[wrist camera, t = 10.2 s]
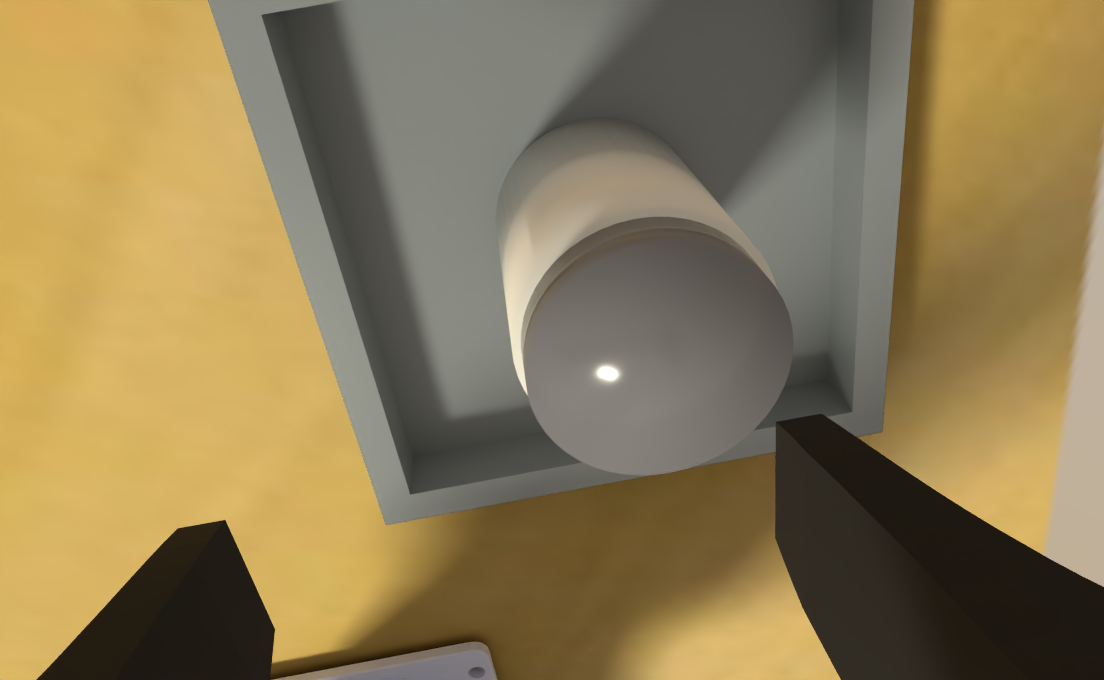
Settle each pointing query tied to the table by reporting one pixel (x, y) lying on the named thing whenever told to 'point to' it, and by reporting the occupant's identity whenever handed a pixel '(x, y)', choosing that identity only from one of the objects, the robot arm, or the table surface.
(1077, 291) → the table surface
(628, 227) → the cylinder
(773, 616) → the table surface
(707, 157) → the tray
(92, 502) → the table surface
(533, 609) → the table surface
